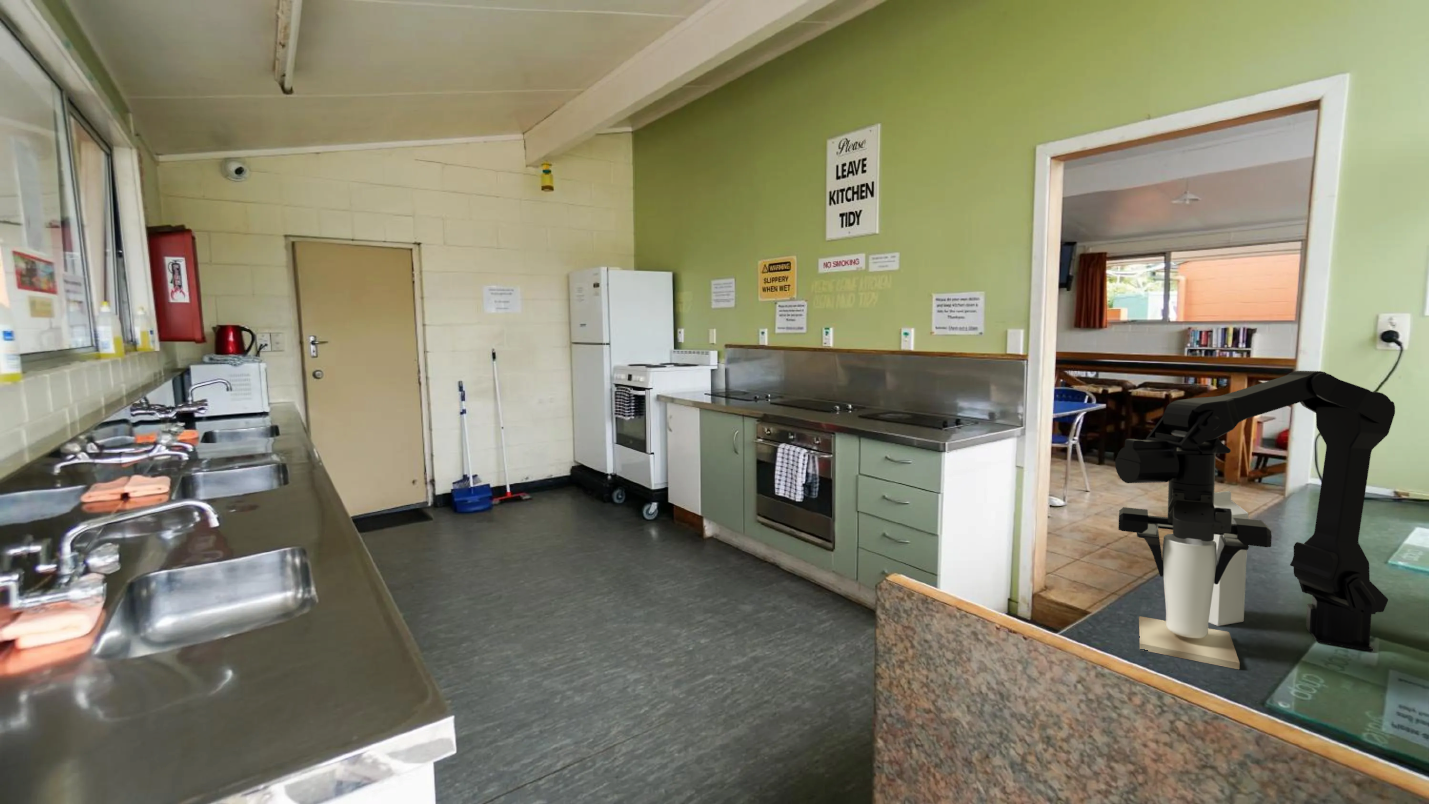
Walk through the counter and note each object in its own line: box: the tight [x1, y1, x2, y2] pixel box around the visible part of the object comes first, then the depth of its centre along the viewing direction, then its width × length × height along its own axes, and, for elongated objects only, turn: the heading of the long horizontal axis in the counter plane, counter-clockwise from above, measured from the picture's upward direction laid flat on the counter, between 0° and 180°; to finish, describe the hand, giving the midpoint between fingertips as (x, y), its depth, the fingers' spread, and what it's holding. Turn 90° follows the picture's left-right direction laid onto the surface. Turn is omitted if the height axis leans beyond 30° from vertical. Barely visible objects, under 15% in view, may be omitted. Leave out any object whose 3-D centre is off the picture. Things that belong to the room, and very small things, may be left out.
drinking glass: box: [1161, 533, 1217, 638], centre depth 99 cm, size 7×7×15 cm
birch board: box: [1138, 616, 1241, 670], centre depth 100 cm, size 12×12×1 cm
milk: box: [1208, 490, 1249, 627], centre depth 109 cm, size 6×6×22 cm
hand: (1187, 579), depth 99 cm, fingers closed on drinking glass, 6 cm apart
